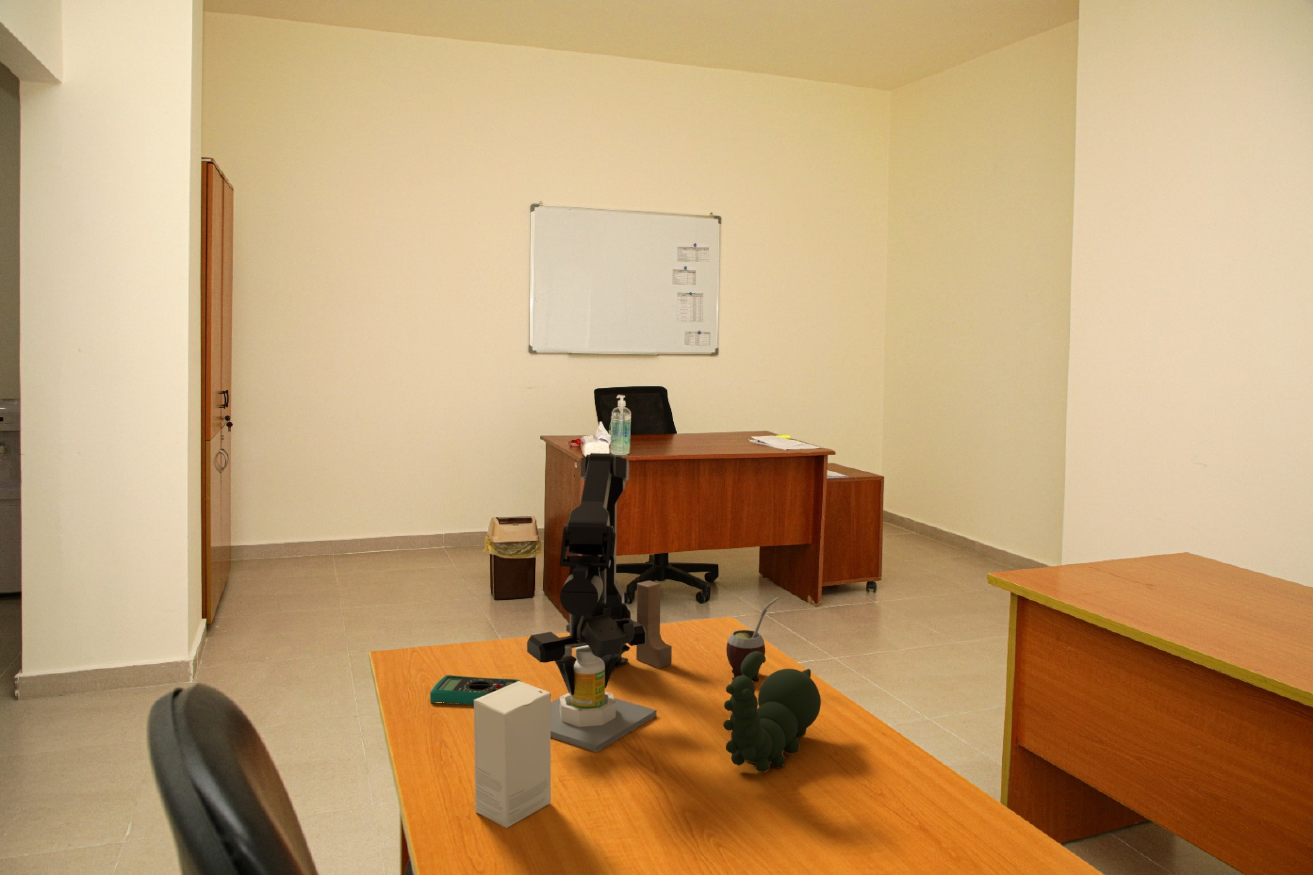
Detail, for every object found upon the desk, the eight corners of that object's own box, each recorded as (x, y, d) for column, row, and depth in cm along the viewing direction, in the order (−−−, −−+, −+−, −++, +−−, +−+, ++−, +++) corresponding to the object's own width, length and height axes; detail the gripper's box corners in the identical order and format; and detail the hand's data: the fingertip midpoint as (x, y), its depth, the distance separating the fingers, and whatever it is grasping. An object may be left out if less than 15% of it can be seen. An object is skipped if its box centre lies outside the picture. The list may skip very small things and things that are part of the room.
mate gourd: (717, 675, 166) (719, 595, 164) (747, 665, 171) (749, 588, 169) (748, 688, 160) (750, 605, 159) (777, 677, 166) (779, 597, 164)
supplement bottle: (599, 714, 143) (600, 655, 141) (566, 711, 144) (566, 652, 142) (608, 701, 148) (608, 643, 147) (576, 698, 149) (576, 640, 148)
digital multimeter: (515, 711, 150) (514, 694, 150) (428, 705, 152) (428, 688, 152) (526, 694, 158) (526, 677, 157) (443, 688, 159) (443, 672, 159)
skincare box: (520, 788, 124) (520, 678, 122) (554, 805, 120) (554, 691, 118) (472, 813, 117) (471, 697, 116) (506, 831, 113) (505, 711, 112)
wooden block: (635, 659, 174) (636, 583, 172) (648, 655, 176) (649, 580, 174) (659, 669, 169) (660, 590, 167) (671, 664, 171) (673, 587, 169)
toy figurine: (769, 805, 124) (837, 724, 144) (767, 675, 120) (837, 612, 141) (708, 786, 129) (783, 710, 149) (705, 661, 125) (781, 601, 146)
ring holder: (579, 693, 157) (579, 673, 157) (656, 715, 148) (656, 695, 148) (516, 725, 144) (516, 704, 143) (596, 752, 135) (596, 730, 134)
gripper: (555, 619, 132) (555, 722, 134) (664, 601, 142) (663, 697, 143) (525, 599, 141) (525, 695, 143) (629, 583, 151) (628, 674, 153)
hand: (587, 691), depth 145 cm, fingers closed on supplement bottle, 5 cm apart
